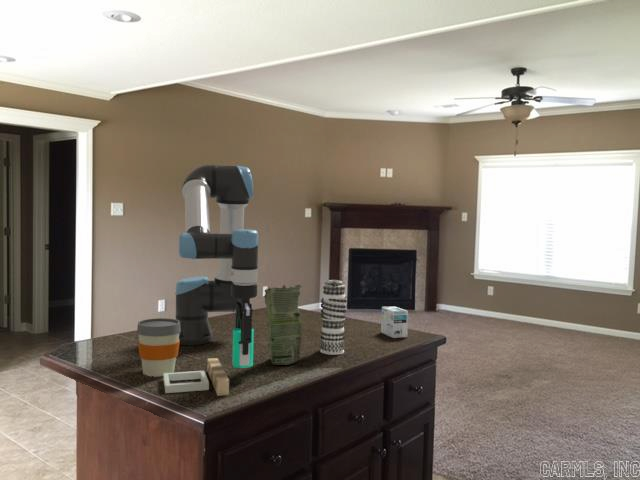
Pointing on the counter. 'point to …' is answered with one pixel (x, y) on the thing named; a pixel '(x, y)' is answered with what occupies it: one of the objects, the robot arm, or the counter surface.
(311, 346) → the counter surface
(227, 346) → the counter surface
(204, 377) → the frame
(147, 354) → the reusable coffee cup
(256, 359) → the counter surface
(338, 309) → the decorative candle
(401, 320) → the light bulb box
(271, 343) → the pouch
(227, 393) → the edge strip
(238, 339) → the candle
